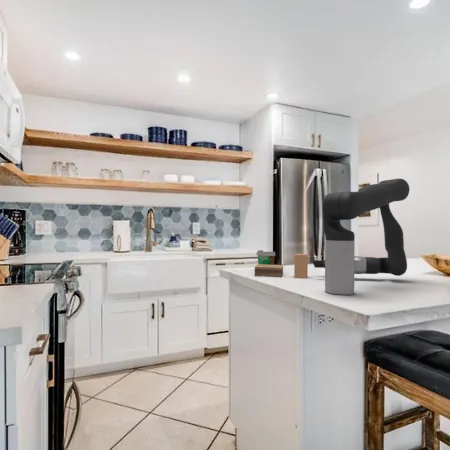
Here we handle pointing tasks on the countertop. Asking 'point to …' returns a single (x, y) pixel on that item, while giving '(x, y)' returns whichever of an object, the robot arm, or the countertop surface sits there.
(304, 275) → the orange brick
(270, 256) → the food container
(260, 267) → the walnut base block
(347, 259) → the robot arm
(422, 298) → the countertop surface
